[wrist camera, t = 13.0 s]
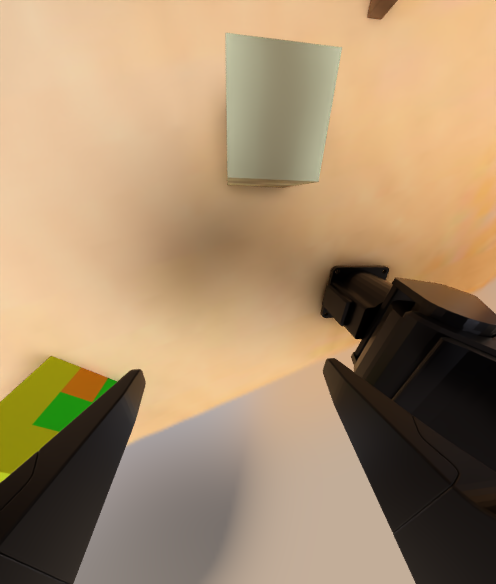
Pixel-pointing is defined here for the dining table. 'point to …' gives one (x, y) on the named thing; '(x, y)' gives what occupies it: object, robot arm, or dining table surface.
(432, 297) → the robot arm
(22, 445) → the puzzle toy
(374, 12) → the open wooden frame
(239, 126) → the block
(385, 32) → the dining table surface
